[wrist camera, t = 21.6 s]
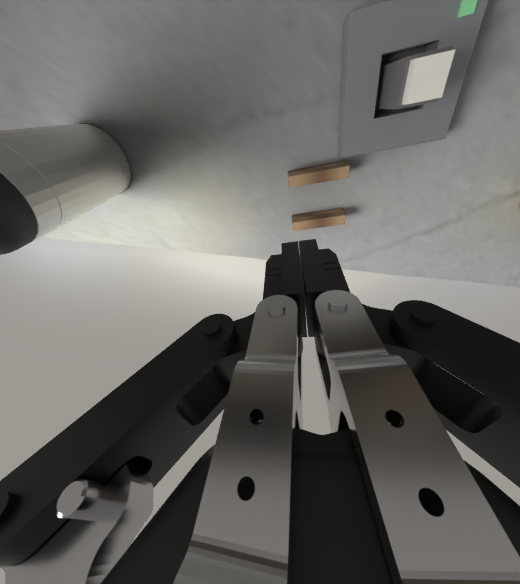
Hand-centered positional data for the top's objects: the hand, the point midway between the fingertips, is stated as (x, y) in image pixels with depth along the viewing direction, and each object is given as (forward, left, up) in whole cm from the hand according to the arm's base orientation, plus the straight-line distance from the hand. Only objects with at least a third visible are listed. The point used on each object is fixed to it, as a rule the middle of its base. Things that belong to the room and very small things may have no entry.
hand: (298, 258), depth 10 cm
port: (+13, +5, -27) cm, 30 cm away
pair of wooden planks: (+4, -6, -27) cm, 28 cm away
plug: (+13, +5, -27) cm, 30 cm away
